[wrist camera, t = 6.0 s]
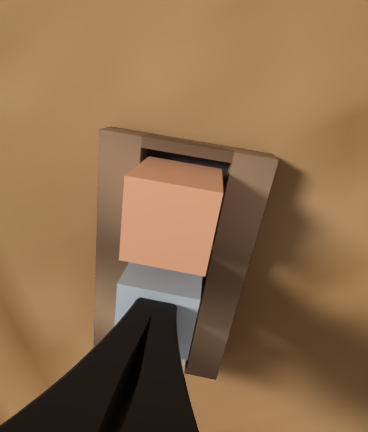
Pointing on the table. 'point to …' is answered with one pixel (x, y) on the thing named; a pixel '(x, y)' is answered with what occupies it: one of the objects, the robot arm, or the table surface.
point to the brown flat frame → (223, 238)
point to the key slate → (162, 296)
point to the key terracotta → (170, 215)
